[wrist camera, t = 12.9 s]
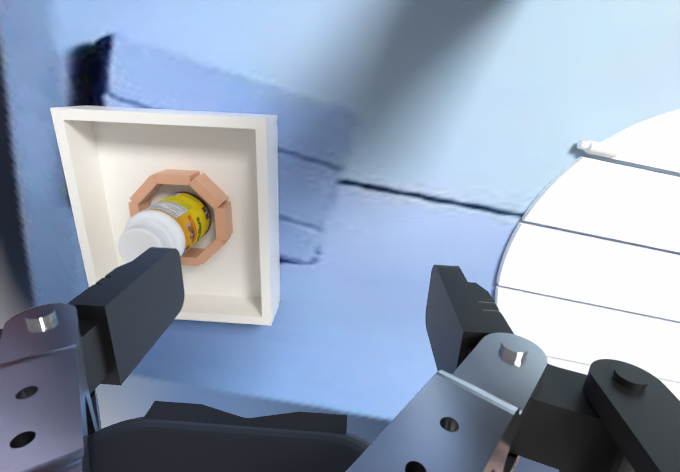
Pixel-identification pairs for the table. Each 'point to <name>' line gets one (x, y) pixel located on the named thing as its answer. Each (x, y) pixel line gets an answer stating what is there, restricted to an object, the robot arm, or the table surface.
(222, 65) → the table surface
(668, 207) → the white round slatted board
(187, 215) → the supplement bottle
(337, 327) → the table surface
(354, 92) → the table surface
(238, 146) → the walled box
